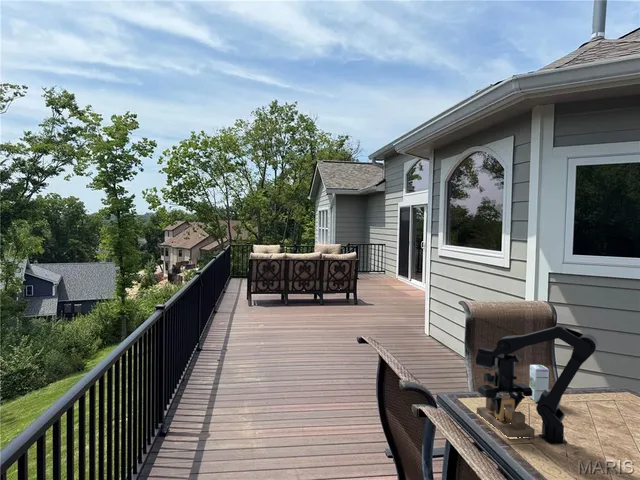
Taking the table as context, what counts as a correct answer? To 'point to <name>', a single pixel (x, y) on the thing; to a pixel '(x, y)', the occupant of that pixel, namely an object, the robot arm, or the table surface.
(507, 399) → the clip
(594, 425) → the table surface
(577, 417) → the table surface
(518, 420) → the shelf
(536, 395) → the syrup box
